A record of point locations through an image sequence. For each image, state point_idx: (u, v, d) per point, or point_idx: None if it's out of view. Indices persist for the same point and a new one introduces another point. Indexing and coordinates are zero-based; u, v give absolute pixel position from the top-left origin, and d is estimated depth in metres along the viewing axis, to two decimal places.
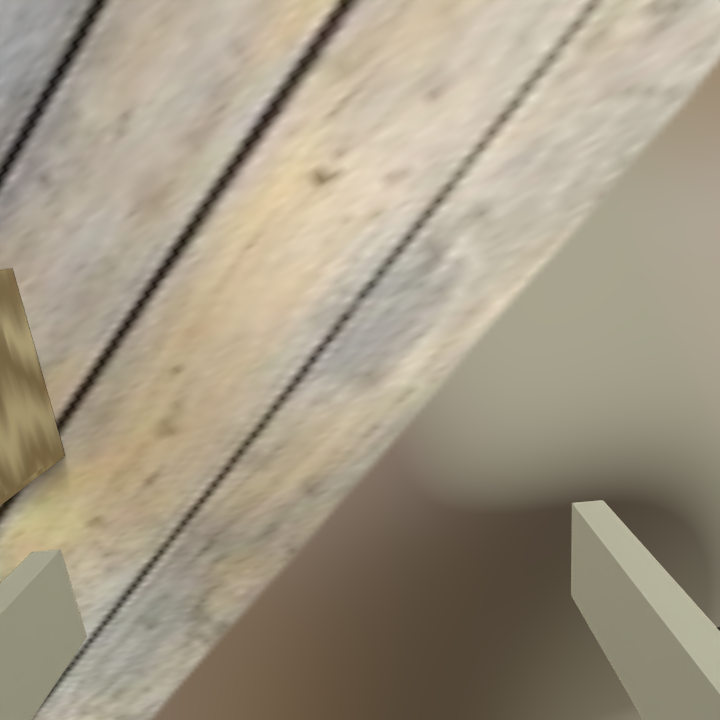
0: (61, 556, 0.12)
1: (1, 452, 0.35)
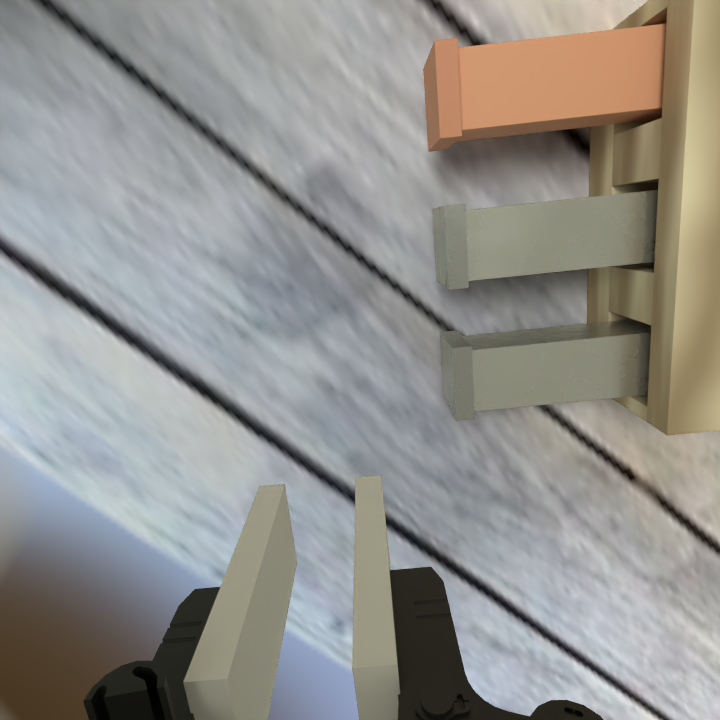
0: (285, 489, 0.15)
1: None
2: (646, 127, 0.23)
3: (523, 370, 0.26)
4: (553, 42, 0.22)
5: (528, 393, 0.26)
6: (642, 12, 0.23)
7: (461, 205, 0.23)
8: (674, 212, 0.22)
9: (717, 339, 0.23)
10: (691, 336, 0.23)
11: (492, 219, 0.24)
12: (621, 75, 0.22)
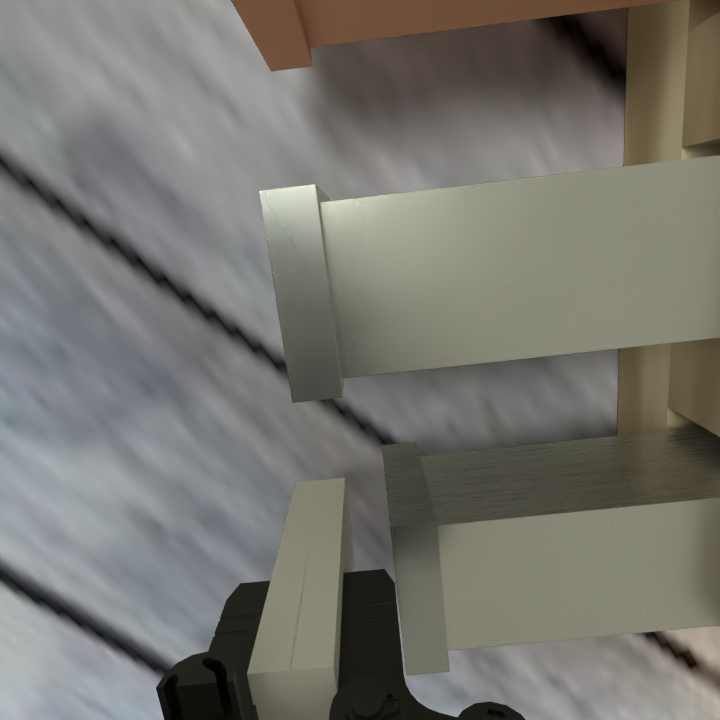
0: None
1: None
2: None
3: (560, 567, 0.11)
4: None
5: (571, 613, 0.11)
6: None
7: (305, 188, 0.09)
8: None
9: None
10: None
11: (395, 224, 0.09)
12: None
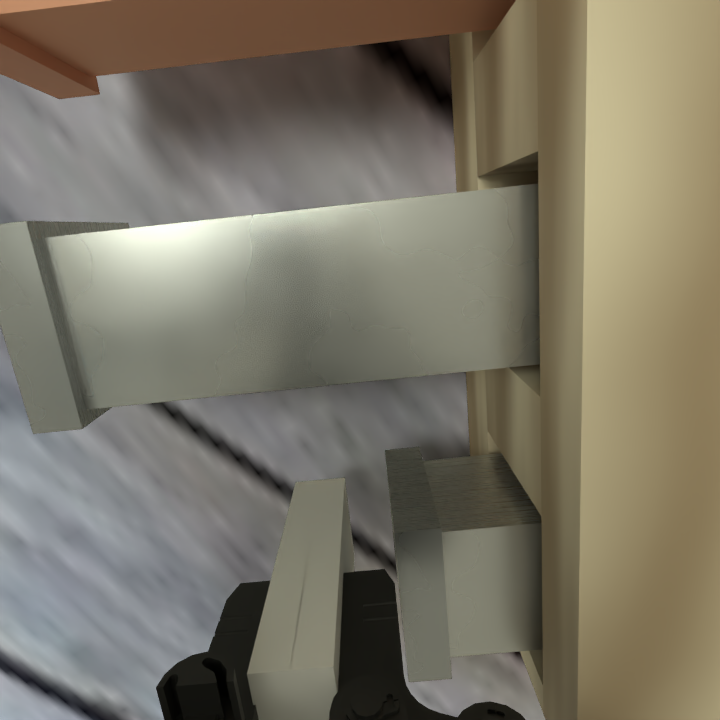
0: None
1: None
2: (513, 16, 0.09)
3: None
4: None
5: None
6: None
7: (16, 225, 0.09)
8: (570, 249, 0.07)
9: (700, 592, 0.08)
10: (629, 585, 0.08)
11: (119, 259, 0.09)
12: None
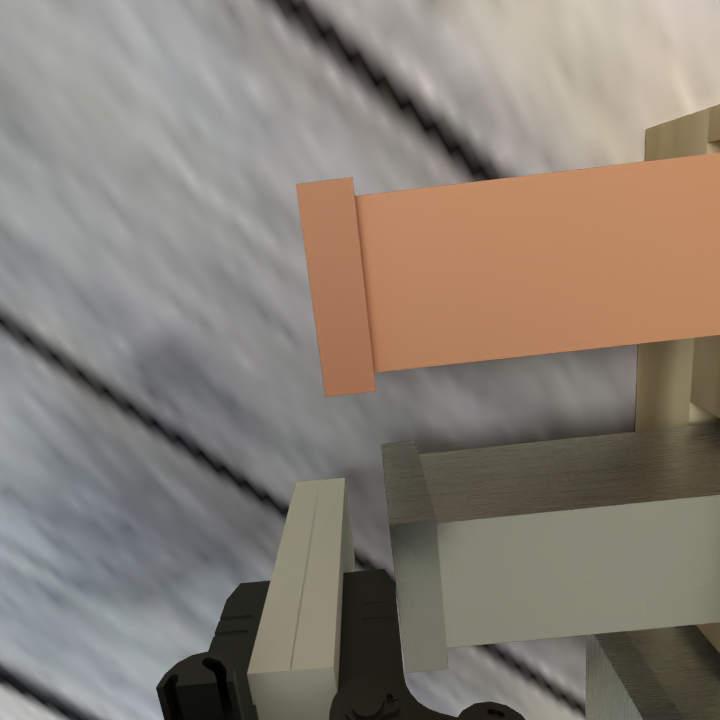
0: None
1: None
2: None
3: None
4: (590, 181, 0.09)
5: None
6: None
7: (428, 523, 0.10)
8: None
9: None
10: None
11: (498, 538, 0.11)
12: None
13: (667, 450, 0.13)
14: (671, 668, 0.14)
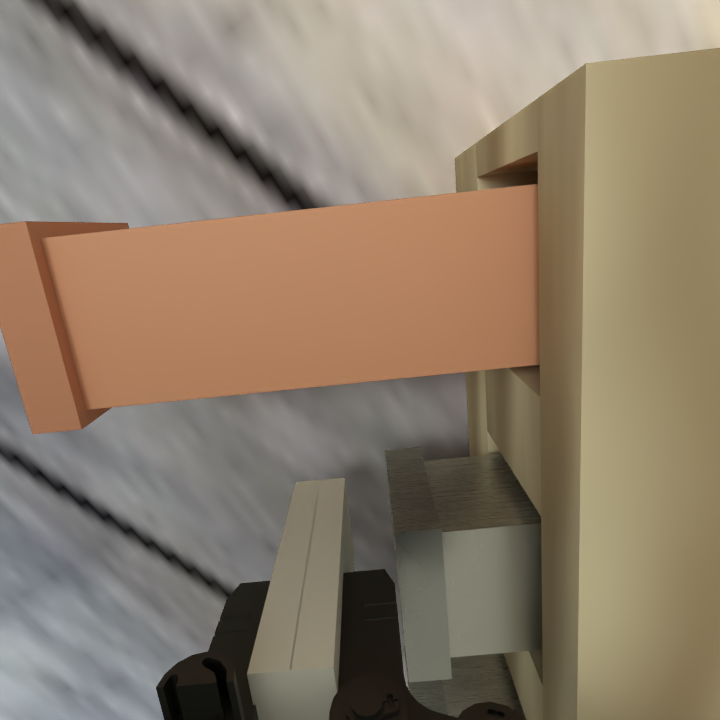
0: None
1: None
2: (520, 386, 0.11)
3: None
4: (273, 225, 0.09)
5: None
6: (503, 139, 0.10)
7: (433, 532, 0.10)
8: (567, 630, 0.09)
9: None
10: None
11: (503, 548, 0.11)
12: (445, 296, 0.09)
13: None
14: (468, 696, 0.14)
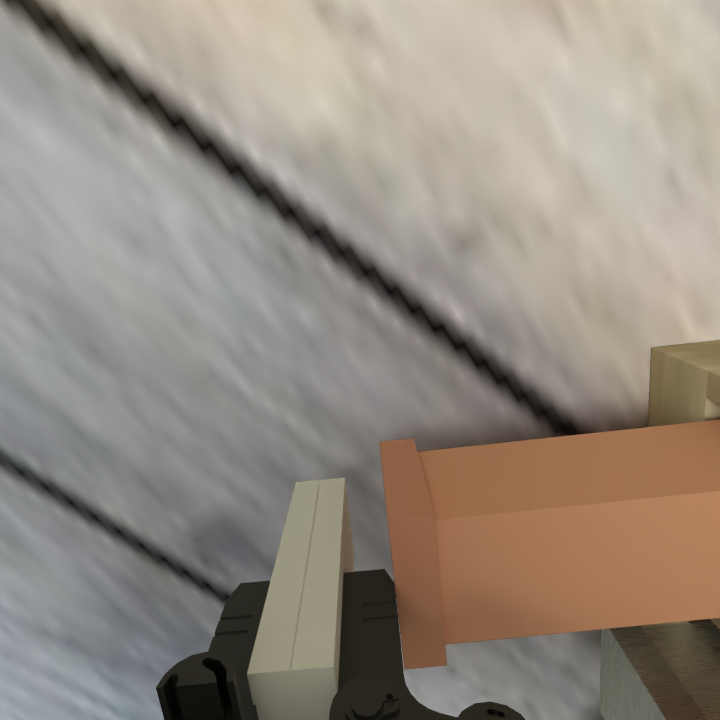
0: None
1: None
2: None
3: None
4: (629, 508, 0.11)
5: None
6: None
7: None
8: None
9: None
10: None
11: None
12: None
13: None
14: None
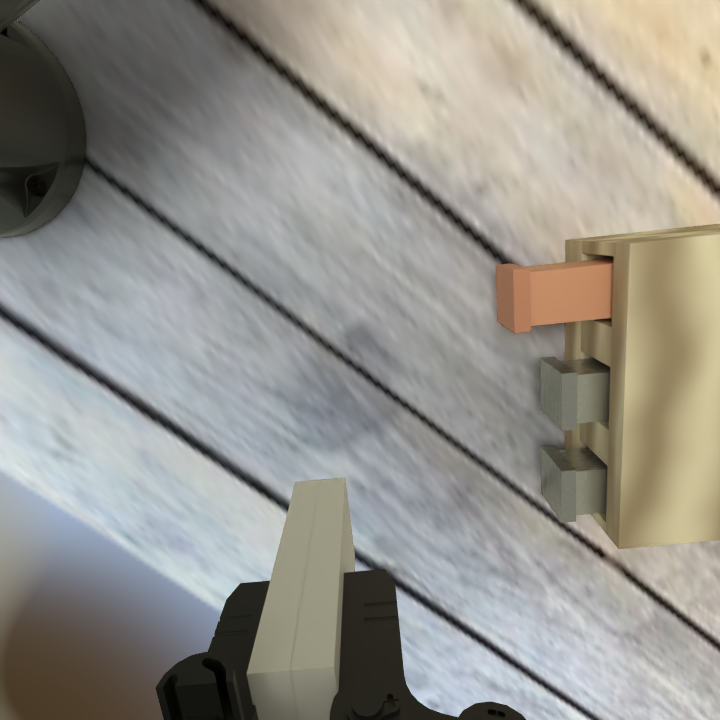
0: None
1: None
2: (602, 326, 0.32)
3: None
4: (598, 268, 0.30)
5: None
6: (598, 246, 0.31)
7: (575, 373, 0.32)
8: (620, 397, 0.31)
9: (653, 483, 0.32)
10: (634, 481, 0.32)
11: (596, 381, 0.32)
12: None
13: None
14: (572, 457, 0.36)
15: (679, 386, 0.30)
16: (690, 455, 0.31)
